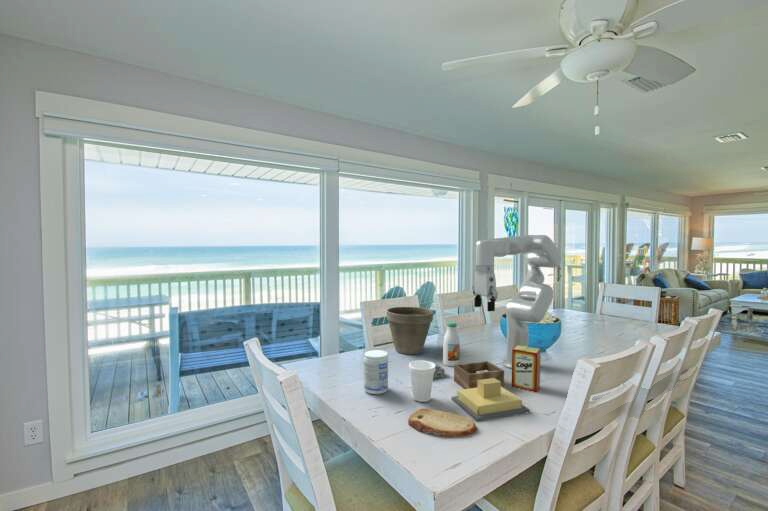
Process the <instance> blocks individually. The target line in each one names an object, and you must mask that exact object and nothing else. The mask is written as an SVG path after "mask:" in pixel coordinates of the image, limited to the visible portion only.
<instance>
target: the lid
mask: <svg viewBox="0 0 768 511" xmlns="http://www.w3.org/2000/svg"><path fill="white" fill-rule="evenodd" d="M457 396H458V399H459V400H460V401H461V402H463V403H464V404H465V405H466V406H467V407H469V408H470V409H471V410H472V411H473V412H475V413H476V414H477V415H482V414H488V413H494V412H500V411H506V410H512V409H518V408H522V405H523V402H522V401H523V399H522V398H520V397H519V396H517V395H516V394H514V393H512V392H510V391H509V390H507V389H506V388H505V387H504V388H503V387H501V382H500V381H498V380H497V379H495V378H490V379H482V380H477V388H470V389H464V388H462V389H457Z"/></svg>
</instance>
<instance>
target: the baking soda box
mask: <svg viewBox="0 0 768 511" xmlns="http://www.w3.org/2000/svg"><path fill="white" fill-rule="evenodd" d="M541 352H542V350H541V348H537V347H530V346H529V345H528V346H520V345H516V346H515V347H514V348H513V349H512V369H511V388H514V387H515V388H514V389H518V388H520V389H519V390H523V389H524V390H523V391H527V390H529V391H528V392H532V391H533V392H532V393H537V392H538V391H539V389H540V387H541V384H540V383H541ZM537 390H538V391H537Z"/></svg>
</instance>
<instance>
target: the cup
mask: <svg viewBox="0 0 768 511" xmlns="http://www.w3.org/2000/svg"><path fill="white" fill-rule="evenodd" d="M436 365H437V364H435V363H434V362H432V361H429V360H428V361H427V360H413V361H411V362H409V364H408V370H409V372H410V378H411V379H410V380H411V387H412V396H413V400H415V401H416V402H419V403H420V402H421V403H425V402H429V401H431V395H432V387H433V381H434V378H433V375H434V372H435V369H436Z"/></svg>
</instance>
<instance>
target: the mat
mask: <svg viewBox="0 0 768 511" xmlns="http://www.w3.org/2000/svg"><path fill="white" fill-rule="evenodd" d="M451 400H452V402H454V403H455V404H456V405H457V406H458V407H460V408H461V409H462V410H463V411H464V412H467V413H466V414H467V415H468V416H470V417H471V418H472V419H473V420H474V421H475V422H480V421H481V422H482V421H486V420H491V419H492V420H493V419H498V418H504V417H509V416H515V414H517V415H520V414H521V415H522V414H526V412H528V413H530V409H529V408H528V407H526V406H525V405H524V404H522V408H518V409H512V410H506V411H500V412H494V413H488V414H482V415H477V414H476V413H475V412H473V411H472V410H471V409H470V408H469V407H467V406H466V405H465V404H464V403H463V402H461V401H460V400H459V399H458V395H456V396H455V395H454V396H451Z"/></svg>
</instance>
